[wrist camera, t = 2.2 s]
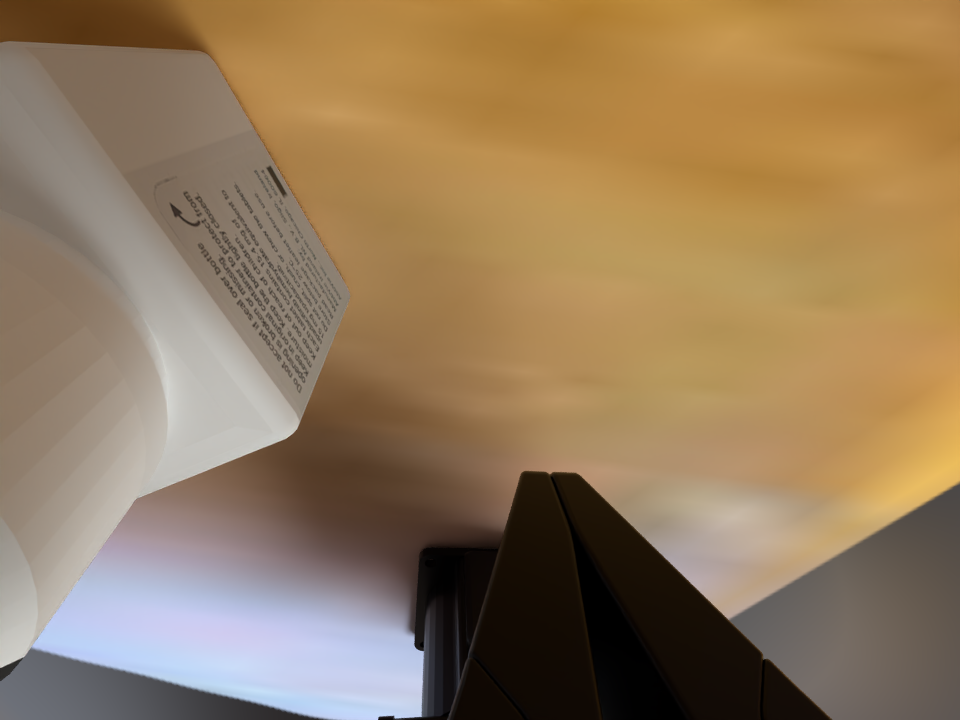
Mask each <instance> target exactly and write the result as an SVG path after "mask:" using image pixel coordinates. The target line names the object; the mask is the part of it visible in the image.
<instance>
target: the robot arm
mask: <svg viewBox="0 0 960 720" xmlns="http://www.w3.org/2000/svg"><path fill="white" fill-rule="evenodd" d="M428 559H434V560H428ZM414 645H415V648H416V649H418V650H420V651H424V663H423V690H422V717H414V718H397V719H395V718H394V716H381V717H379V718H378V720H832V719H831V718H830V717H829V716H828V715H827V714H826V713H825V712H824V711H823V710H822V709H821V708H820V707H818V706H817V705H816V704H815V703H814V702H813V701H812V700H811V699H810V698H809V697H808V696H806V694H804V692H802V691H801V690H800V689H799V688H798V687H797V686H796V685H795V684H794V683H793V682H792V681H791V680H790V679H789V678H788V677H787V676H786V675H785V674H784V673H783V672H782V671H781V670H780V669H779V668H777V666H776V665H774V663H772V662H771V661H770V660H769V659H764V660H763V654H762V652H761V651H760V650H759V649H758V648H757V647H756V646H755V645H754V644H752V642H751V641H750V640H749V639H747V637H745V636H744V635H743V634H742V633H741V632H740V631H739V630H738V629H737V628H736V627H735V626H734V625H733V624H732V623H731V622H730V621H729V620H728V619H727V618H726V617H725V616H724V615H723V614H722V613H721V612H720V611H719V610H718V609H717V608H716V607H715V606H714V605H713V604H712V603H711V602H710V601H709V600H708V599H706V598H705V597H704V596H703V595H702V594H701V593H700V592H699V591H698V590H697V589H696V588H695V587H694V586H693V585H692V584H691V583H690V582H689V581H688V580H687V579H686V578H685V577H684V576H683V575H682V574H681V573H680V572H679V571H678V570H677V569H676V568H675V567H674V566H673V565H672V564H671V563H670V562H669V561H668V560H666V559H665V558H664V557H663V556H662V555H661V554H660V553H659V552H658V551H657V550H656V549H655V548H654V547H653V546H652V545H651V544H650V543H649V542H648V541H647V540H646V539H645V538H644V537H643V536H642V535H641V534H640V533H639V532H638V531H637V530H636V529H635V528H634V527H633V526H632V525H631V524H630V523H629V522H627V521H626V520H625V519H624V518H623V517H622V516H621V515H620V514H619V513H618V512H617V511H616V510H615V509H614V508H613V507H612V506H611V505H610V504H609V503H608V502H607V501H606V500H605V499H604V498H603V497H602V496H601V495H600V494H599V493H598V492H597V491H596V490H595V489H594V488H593V487H592V486H591V485H590V484H588V483H587V482H586V481H585V480H584V479H583V478H582V477H581V476H580V475H579V474H577V473H567V472H553V473H551V474H550V475H549V474H548V473H547V472H539V471H524V472H522V473H521V476H520V479H519V482H518V486H517V489H516V493H515V496H514V499H513V503H512V506H511V510H510V513H509V517H508V520H507V523H506V527H505V530H504V534H503V537H502V541H501V544H500V547H499V549H478V548H433V547H431V548H426V549H424V550H422V551H421V552H420V555H419V571H418V589H417V607H416V625H415V643H414Z"/></svg>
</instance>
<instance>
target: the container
mask: <svg viewBox="0 0 960 720" xmlns="http://www.w3.org/2000/svg"><path fill="white" fill-rule="evenodd" d="M349 299H350V293H349V290H348V287H347V286H346V284H345V282H344V281H343V279H342V277H341V275H340V274H339V272H338V270H337V269H336V267H335V265H334V264H333V262H332V260H331V258H330V257H329V255H328V253H327V252H326V250H325V248H324V247H323V245H322V243H321V241H320V240H319V238H318V236H317V235H316V233H315V231H314V230H313V228H312V226H311V224H310V223H309V221H308V219H307V218H306V216H305V214H304V213H303V211H302V209H301V207H300V206H299V204H298V202H297V201H296V199H295V197H294V196H293V194H292V192H291V190H290V189H289V187H288V185H287V184H286V182H285V180H284V179H283V177H282V175H281V173H280V172H279V170H278V168H277V167H276V165H275V163H274V162H273V160H272V158H271V156H270V155H269V153H268V151H267V150H266V148H265V146H264V145H263V143H262V141H261V139H260V138H259V136H258V134H257V133H256V131H255V129H254V128H253V126H252V124H251V122H250V121H249V119H248V117H247V116H246V114H245V112H244V111H243V109H242V107H241V105H240V104H239V102H238V100H237V99H236V97H235V95H234V94H233V92H232V90H231V88H230V87H229V85H228V83H227V82H226V80H225V78H224V77H223V75H222V73H221V71H220V70H219V68H218V66H217V65H216V63H215V62H214V61H213V59H212V58H211V57H210V56H209V55H208V54H206V53H204V52H201V51H197V50H177V49H157V48H137V47H117V46H97V45H77V44H57V43H37V42H17V41H6V42H0V681H1V680H3V679H4V678H5V677H6V676H8V675H9V674H10V673H11V672H12V671H13V669H14V668H15V667H16V666H17V665H18V664H19V662H20V661H21V660H22V659H23V658H24V656H25V655H26V654H27V652H28V651H29V649H30V648H31V646H32V645H33V644H34V642H35V641H36V639H37V638H38V637H39V635H40V634H41V632H42V631H43V630H44V628H45V627H46V625H47V624H48V623H49V621H50V620H51V618H52V617H53V615H54V614H55V613H56V611H57V610H58V608H59V607H60V606H61V604H62V603H63V601H64V600H65V599H66V597H67V596H68V594H69V593H70V591H71V590H72V589H73V587H74V586H75V584H76V583H77V582H78V580H79V579H80V577H81V576H82V575H83V573H84V572H85V570H86V569H87V568H88V566H89V565H90V563H91V562H92V560H93V559H94V558H95V556H96V555H97V553H98V552H99V551H100V549H101V548H102V546H103V545H104V544H105V542H106V541H107V539H108V538H109V537H110V535H111V534H112V532H113V531H114V529H115V528H116V527H117V525H118V524H119V522H120V521H121V520H122V518H123V517H124V515H125V514H126V513H127V511H128V510H129V508H130V507H131V505H132V504H133V503H134V501H135V500H136V499H137V498H140V497H142V496H145V495H147V494H150V493H152V492H155V491H157V490H160V489H162V488H165V487H167V486H170V485H172V484H175V483H177V482H180V481H182V480H184V479H187V478H189V477H192V476H194V475H197V474H199V473H202V472H204V471H207V470H209V469H212V468H214V467H217V466H219V465H222V464H224V463H227V462H229V461H232V460H234V459H237V458H239V457H242V456H244V455H247V454H249V453H252V452H254V451H257V450H259V449H262V448H264V447H267V446H269V445H272V444H274V443H277V442H279V441H282V440H284V439H286V438H288V437H289V436H290V435H292V434H293V433H294V432H295V431H296V430H297V428H298V426H299V423H300V421H301V418H302V416H303V413H304V411H305V409H306V406H307V404H308V401H309V399H310V396H311V394H312V391H313V389H314V386H315V384H316V381H317V379H318V376H319V374H320V371H321V369H322V366H323V364H324V362H325V359H326V357H327V354H328V352H329V349H330V347H331V344H332V342H333V339H334V337H335V334H336V332H337V329H338V327H339V324H340V322H341V320H342V317H343V315H344V312H345V310H346V307H347V305H348V302H349Z"/></svg>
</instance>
